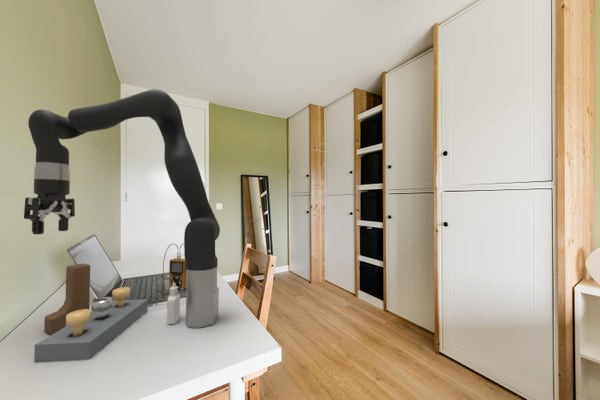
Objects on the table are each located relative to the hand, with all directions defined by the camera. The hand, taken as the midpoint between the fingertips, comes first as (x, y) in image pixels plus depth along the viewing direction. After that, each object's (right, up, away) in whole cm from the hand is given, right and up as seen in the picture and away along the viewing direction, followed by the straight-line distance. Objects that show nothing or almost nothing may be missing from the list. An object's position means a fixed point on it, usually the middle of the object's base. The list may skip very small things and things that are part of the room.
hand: (51, 232), depth 72 cm
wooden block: (+4, -29, 0) cm, 29 cm away
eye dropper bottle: (+34, -29, +5) cm, 45 cm away
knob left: (+18, -26, -11) cm, 33 cm away
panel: (+17, -29, -2) cm, 33 cm away
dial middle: (+17, -26, -2) cm, 31 cm away
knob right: (+16, -26, +6) cm, 31 cm away
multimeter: (+21, -30, +29) cm, 47 cm away
